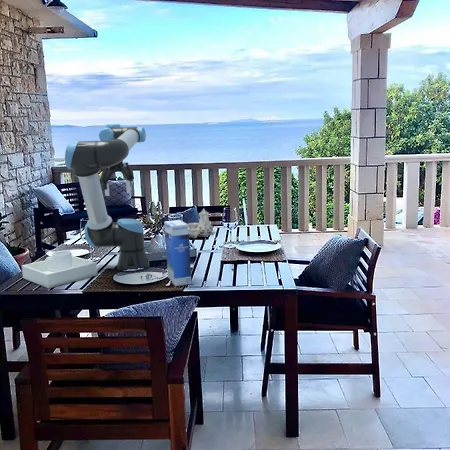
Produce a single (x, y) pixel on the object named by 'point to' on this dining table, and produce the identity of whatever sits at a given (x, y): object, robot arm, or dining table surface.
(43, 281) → the box
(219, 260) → the dining table surface
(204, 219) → the chinaware
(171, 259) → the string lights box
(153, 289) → the dining table surface
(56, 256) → the cup
